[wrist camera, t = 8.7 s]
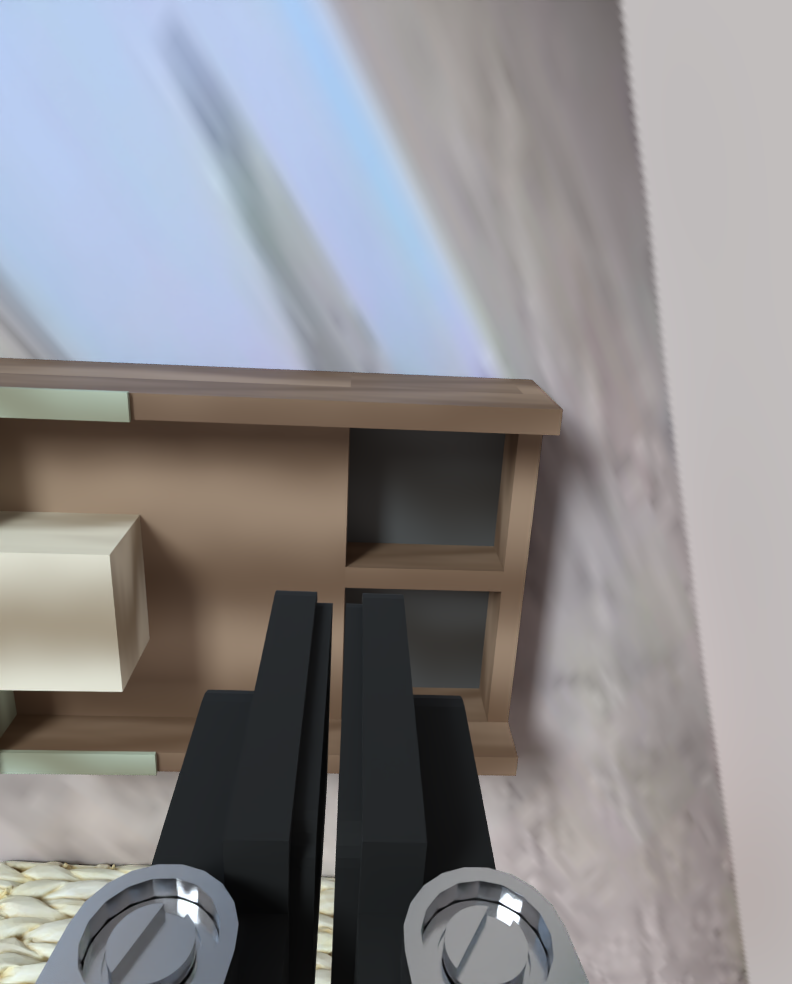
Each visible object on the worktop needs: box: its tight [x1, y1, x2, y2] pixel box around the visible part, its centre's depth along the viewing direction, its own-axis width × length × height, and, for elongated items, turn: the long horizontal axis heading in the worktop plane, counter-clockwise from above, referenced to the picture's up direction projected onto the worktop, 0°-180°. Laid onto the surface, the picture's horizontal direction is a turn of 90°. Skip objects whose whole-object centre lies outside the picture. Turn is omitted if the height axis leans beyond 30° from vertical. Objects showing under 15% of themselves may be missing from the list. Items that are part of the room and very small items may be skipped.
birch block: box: [0, 511, 150, 692], centre depth 30 cm, size 6×6×4 cm
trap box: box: [0, 358, 563, 776], centre depth 32 cm, size 17×24×6 cm
